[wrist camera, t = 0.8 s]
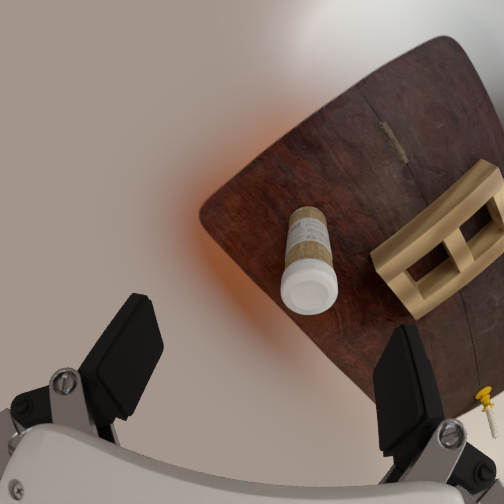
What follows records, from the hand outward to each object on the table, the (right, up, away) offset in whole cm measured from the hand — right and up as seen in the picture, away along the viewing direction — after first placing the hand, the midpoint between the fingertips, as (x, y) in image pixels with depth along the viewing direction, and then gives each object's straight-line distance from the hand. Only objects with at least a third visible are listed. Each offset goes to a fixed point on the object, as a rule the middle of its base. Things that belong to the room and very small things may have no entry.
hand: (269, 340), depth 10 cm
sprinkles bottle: (+6, +7, +23) cm, 24 cm away
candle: (+60, -34, +37) cm, 78 cm away
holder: (+25, +5, +20) cm, 32 cm away
